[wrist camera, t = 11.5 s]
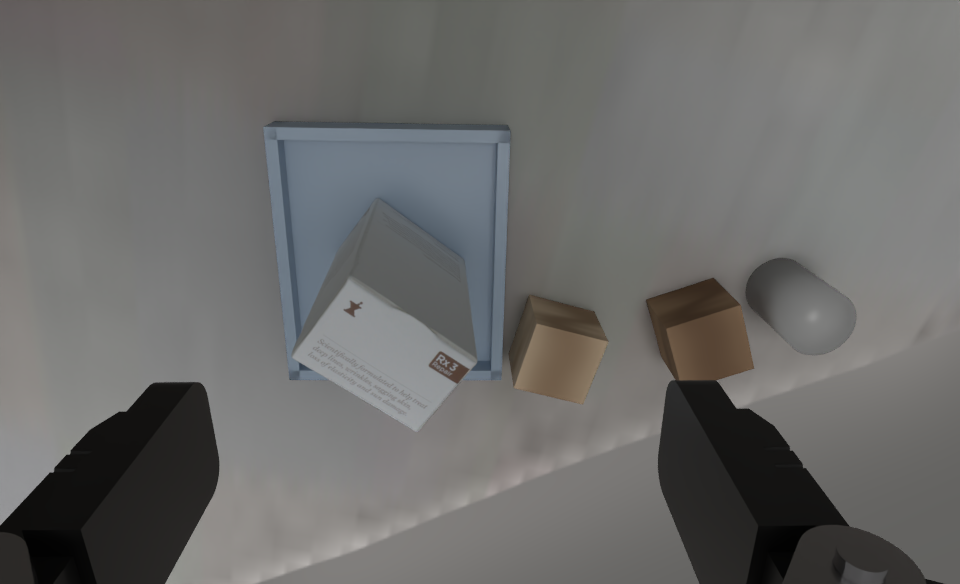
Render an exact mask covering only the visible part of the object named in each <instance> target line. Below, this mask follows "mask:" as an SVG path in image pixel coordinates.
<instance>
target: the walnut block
mask: <svg viewBox="0 0 960 584" xmlns="http://www.w3.org/2000/svg"><path fill="white" fill-rule="evenodd" d="M646 301H647V305H648V309H649V313H650V316H651V320H652V324H653V327H654V331H655V335H656V338H657V342H658V346H659V349H660V353H661V357H662V359H663V360H664V362H665V363H666V365H667V367H668V368H669V370H670V371H671V373H672V375H673V376H674V378H675V380H718V379H722V378H725V377H728V376H731V375H735V374H738V373H741V372H744V371H748V370H751V369H754V366H753V361H752V356H751V351H750V347H749V342H748V337H747V332H746V328H745V323H744V318H743V313H742V309H741V305H740V304H739V303H738V302H737V301H736V300H735V299H734V298H733V297H732V296H731V295H730V294H729V293H728V292H727V291H726V290H725V289H724V288H723V287H722V286H721V285H720V284H719V283H718V282H717V281H716V280H715V279H714V278H711V279H708V280H705V281H702V282H699V283H696V284H693V285H690V286H687V287H684V288H681V289H678V290H675V291H671V292H668V293H665V294H662V295H659V296H656V297H653V298H650V299H647V300H646Z"/></svg>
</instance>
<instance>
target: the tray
mask: <svg viewBox="0 0 960 584" xmlns="http://www.w3.org/2000/svg"><path fill="white" fill-rule="evenodd" d="M263 129H264V138H265V148H266V157H267V167H268V177H269V186H270V196H271V206H272V215H273V225H274V235H275V244H276V254H277V263H278V273H279V283H280V292H281V302H282V312H283V321H284V331H285V340H286V350H287V360H288V369H289V379H290V380H328V379H327V378H325V377H323V376H322V375H320V374H318V373H317V372H315V371H313V370H311V369H310V368H308V367H306V366H305V365H303V364H301V363H299V362H298V361H296V360H294V359H293V358H292V356H291V355H292V351H293V348H294V346H295V344H296V341H297V339H298V338H299V336H300V334H301V332H302V329H303V326H304V324H305V321H306V319H307V317H308V315H309V313H310V310H311V308H312V306H313V304H314V302H315V300H316V297H317V295H318V293H319V291H320V288H321V286H322V284H323V282H324V280H325V277H326V275H327V273H328V271H329V269H330V267H331V264H332V262H333V260H334V257H335V255H336V252H337V251H338V249H339V248H340V246H341V245H342V244H343V242H344V241H345V239H346V238H347V237H348V235H349V234H350V233H351V231H352V230H353V228H354V227H355V226H356V224H357V223H358V222H359V220H360V219H361V218H362V216H363V215H364V214H365V212H366V211H367V210H368V208H369V207H370V206H371V204H372V203H373V202H374V200H375V199H377V198H379V199H381V200H382V201H384V202H385V203H387V204H388V205H389V206H391V207H392V208H393V209H395V210H396V211H398V212H399V213H400V214H402V215H403V216H404V217H406V218H407V219H409V220H410V221H411V222H413V223H414V224H416V225H417V226H418V227H420V228H421V229H422V230H424V231H425V232H427V233H428V234H429V235H431V236H432V237H434V238H435V239H436V240H438V241H439V242H441V243H442V244H443V245H445V246H446V247H447V248H449V249H450V250H452V251H453V252H454V253H456V254H457V255H459V256H460V257H461V258H463V259H464V261H465V267H466V276H467V284H468V291H469V299H470V307H471V315H472V323H473V331H474V338H475V346H476V352H477V360H478V361H477V364H476V365H475V366H474V367H473V368H472V369H471V371H470V372H469V373H468V374H467V375H466V376H465V377H464V379H463V380H501V377H502V349H503V322H504V295H505V268H506V240H507V213H508V186H509V159H510V129H509V127H508V125H469V124H405V123H341V122H277V121H274V122H272V123H270V124H268V125H266V126H264V127H263Z"/></svg>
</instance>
